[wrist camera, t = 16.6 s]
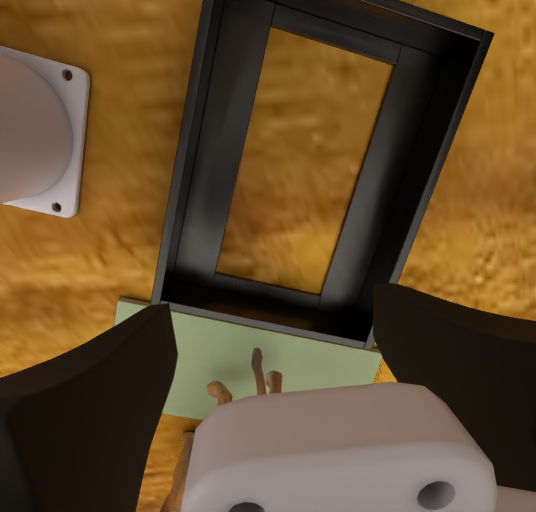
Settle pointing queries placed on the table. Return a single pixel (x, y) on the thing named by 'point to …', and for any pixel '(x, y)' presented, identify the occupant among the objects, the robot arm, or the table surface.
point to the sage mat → (250, 360)
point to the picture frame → (370, 177)
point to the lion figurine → (224, 396)
